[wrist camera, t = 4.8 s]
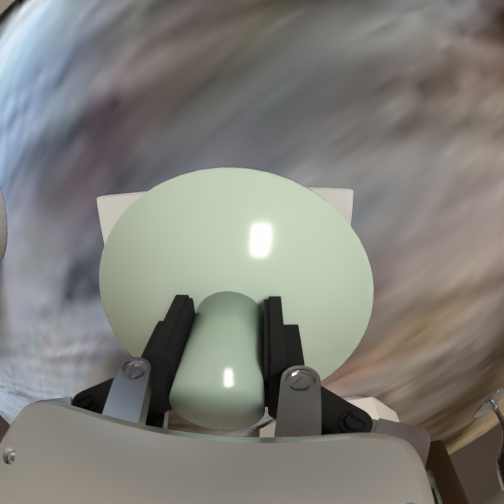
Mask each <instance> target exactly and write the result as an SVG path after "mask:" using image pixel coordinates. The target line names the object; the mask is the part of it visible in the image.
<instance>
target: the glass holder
mask: <svg viewBox="0 0 504 504" xmlns="http://www.w3.org/2000/svg"><path fill="white" fill-rule="evenodd" d="M6 244H7V218H6V210H5V203H4V199H3V195H2V191H1V187H0V260H1V259H2V257H3V256H4V253H5V250H6Z"/></svg>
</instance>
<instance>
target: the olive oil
mask: <svg viewBox="0 0 504 504" xmlns="http://www.w3.org/2000/svg"><path fill="white" fill-rule="evenodd" d="M425 470H426V473H427V476H428V479H429V483H430V486H431V490H432V494H433V498H434V503H435V504H469V502H468V500H467V497H466V495H465V492H464V490H463V487H462V485H461V483H460V480H459V478H458V476H457V473H456V471H455V469H454V466H453V464H452V462H451V459H450V457H449V455H448V453H447V450H446V448H445V446H444V444H443V442H442V441H436V442H432V443H430V447H429V452H428V457H427V462H426V467H425Z"/></svg>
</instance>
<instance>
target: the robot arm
mask: <svg viewBox="0 0 504 504" xmlns="http://www.w3.org/2000/svg"><path fill="white" fill-rule="evenodd" d="M194 318H195V308H194V301H193V298H189V295H179V294H177V295H176V296H175V298H174V300H173V302H172V304H171V306H170V308H169V310H168V312H167V314H166V316H165V318H164V320H163V321H158V323H157V324H156V326H155V328H154V330H153V333H152V335H151V337H150V339H149V341H148V343H147V345H146V347H145V349H144V351H143V353H142V355H141V357H132V358H128V359H126V360H124V361H123V362H122V363H121V364H120V365H119V367H118V369H117V371H116V374H115V377H114V378H112V379H109V380H107V381H105V382H103V383H100V384H98V385H96V386H93V387H91V388H88V389H86V390H84V391H81V392H80V393H78V394H77V395H76V396H75V397H74V399H72V398H71V397H64V398H57V399H49V400H40V401H36V402H35V403H31V404H29V405H27V406H26V407H24V408H23V409H22V410H21V411H20V413H19V414H18V415H17V417H16V418H15V419H14V421H13V423H12V424H11V426H10V427H9V429H8V431H7V433H6V435H5V437H4V438H3V440H2V442H1V444H0V504H435V503H434V498H433V494H432V490H431V486H430V483H429V479H428V476H427V473H426V470H425V467H426V462H427V457H428V452H429V447H430V442H431V439H430V434H429V432H428V431H427V430H426V429H425V428H422V427H419V426H414V425H409V424H404V423H399V422H395V421H390V420H386V419H382V418H379V419H378V420H375V419H372V418H371V416H370V415H369V414H368V413H367V412H365V411H364V410H362V409H360V408H359V407H357V406H355V405H353V404H351V403H350V402H348V401H346V400H344V399H343V398H341V397H339V396H337V395H336V394H334V393H332V392H331V391H329V390H327V389H326V388H324V387H322V386H321V381H320V376H319V374H318V373H317V372H316V371H315V370H314V369H312V368H310V367H307V366H305V363H304V356H303V350H302V344H301V337H300V331H299V326H298V324H285V325H284V322H283V312H282V302H281V296H269V299H264V385H265V407H268V414H269V415H270V416H271V417H272V418H274V419H275V420H276V425H275V433H274V437H235V436H220V435H208V434H199V433H190V432H183V431H176V430H170V429H167V426H168V418H169V410H171V409H173V408H172V406H171V404H170V401H169V395H170V392H171V389H172V385H173V382H174V379H175V376H176V373H177V369H178V366H179V363H180V360H181V357H182V354H183V351H184V348H185V345H186V342H187V339H188V336H189V333H190V330H191V327H192V324H193V321H194Z"/></svg>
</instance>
